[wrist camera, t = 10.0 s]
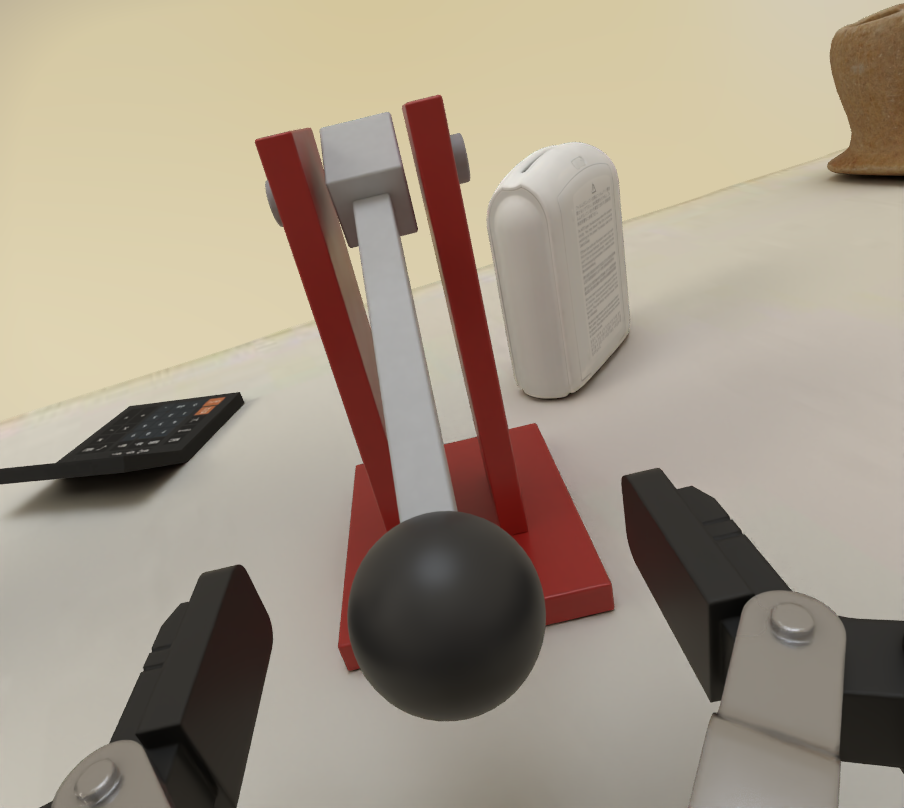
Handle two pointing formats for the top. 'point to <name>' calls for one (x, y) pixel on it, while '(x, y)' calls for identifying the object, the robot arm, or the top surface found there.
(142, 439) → the calculator
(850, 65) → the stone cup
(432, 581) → the ball knob lever
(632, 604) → the top surface
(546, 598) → the red stand
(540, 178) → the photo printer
